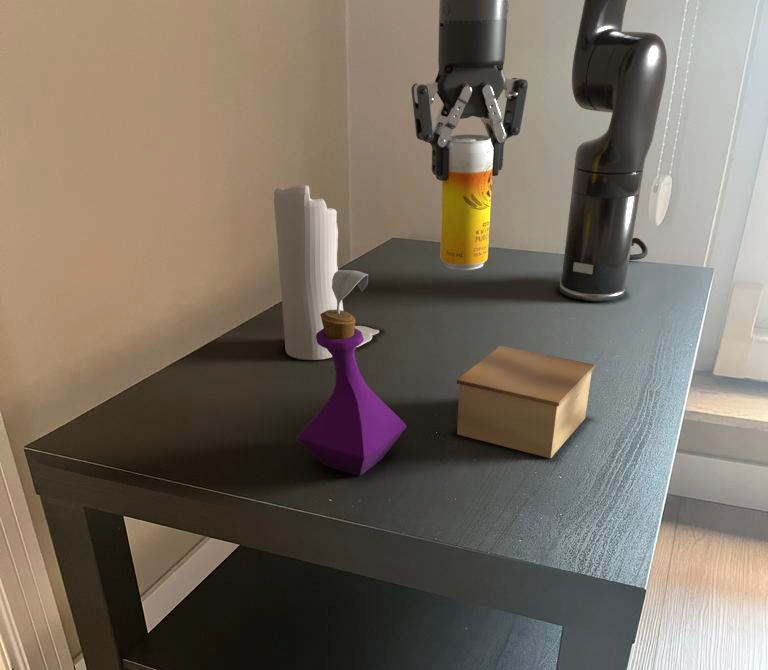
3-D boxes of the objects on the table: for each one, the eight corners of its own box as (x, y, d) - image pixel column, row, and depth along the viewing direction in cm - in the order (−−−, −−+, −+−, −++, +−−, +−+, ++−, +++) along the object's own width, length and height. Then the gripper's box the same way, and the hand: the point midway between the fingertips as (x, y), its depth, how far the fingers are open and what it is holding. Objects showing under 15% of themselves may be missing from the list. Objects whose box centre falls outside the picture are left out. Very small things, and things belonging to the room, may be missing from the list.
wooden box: (496, 397, 88) (500, 345, 85) (587, 418, 84) (595, 364, 80) (454, 434, 81) (456, 379, 77) (551, 460, 76) (559, 402, 73)
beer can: (484, 272, 100) (491, 142, 92) (436, 270, 102) (439, 141, 93) (489, 258, 105) (496, 134, 97) (443, 256, 106) (446, 133, 98)
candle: (390, 334, 104) (390, 170, 94) (312, 365, 96) (302, 189, 85) (351, 321, 109) (347, 163, 98) (273, 350, 100) (259, 180, 89)
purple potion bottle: (364, 489, 72) (360, 291, 62) (298, 468, 75) (284, 277, 65) (407, 455, 77) (409, 268, 67) (343, 436, 80) (336, 255, 71)
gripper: (516, 13, 93) (506, 167, 102) (400, 16, 89) (400, 176, 99) (547, 14, 87) (534, 178, 97) (425, 18, 83) (423, 188, 93)
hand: (466, 176), depth 98 cm, fingers closed on beer can, 6 cm apart
